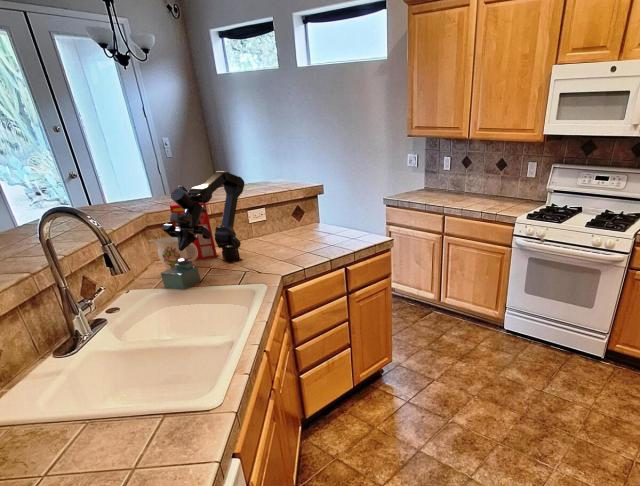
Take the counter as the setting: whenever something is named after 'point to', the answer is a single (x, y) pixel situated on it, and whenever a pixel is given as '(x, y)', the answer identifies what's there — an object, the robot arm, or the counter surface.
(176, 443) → the counter surface
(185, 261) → the lid button
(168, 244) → the pitcher
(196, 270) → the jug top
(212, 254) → the food packaging
